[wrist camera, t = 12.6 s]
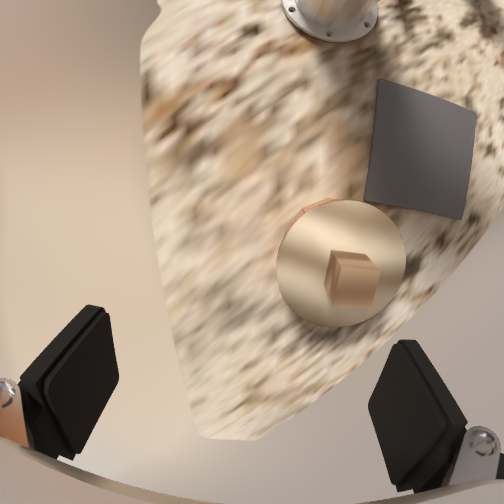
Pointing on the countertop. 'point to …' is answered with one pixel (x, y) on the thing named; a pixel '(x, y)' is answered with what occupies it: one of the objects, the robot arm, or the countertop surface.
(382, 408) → the robot arm
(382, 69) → the countertop surface
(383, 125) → the mat
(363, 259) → the lid
